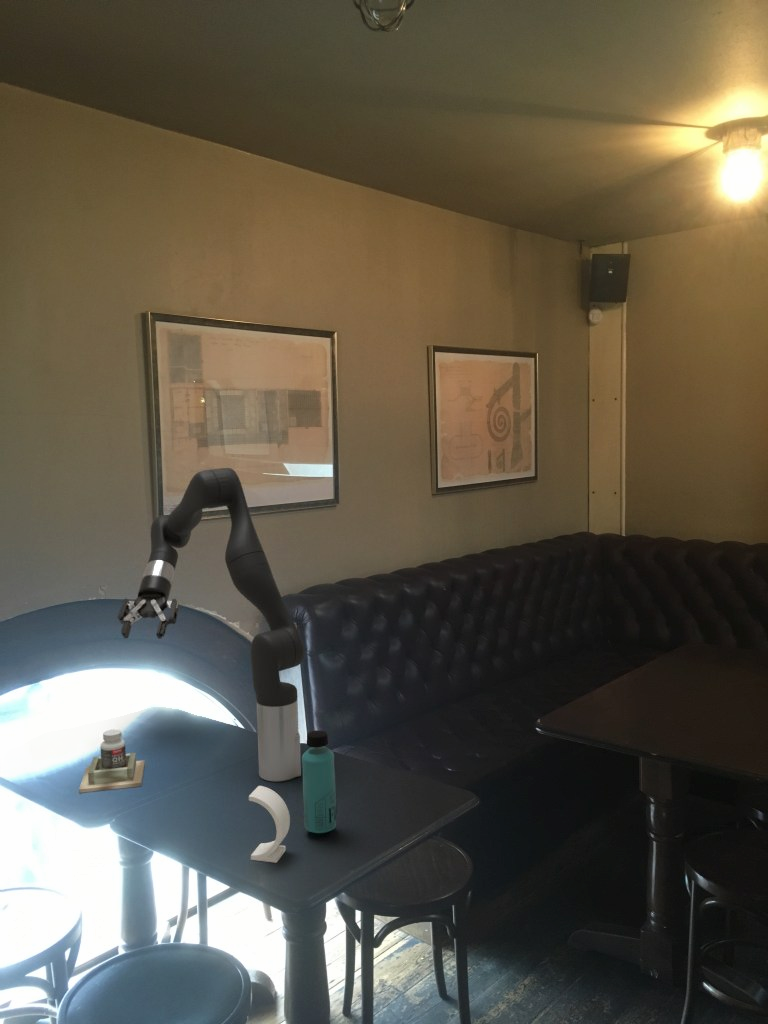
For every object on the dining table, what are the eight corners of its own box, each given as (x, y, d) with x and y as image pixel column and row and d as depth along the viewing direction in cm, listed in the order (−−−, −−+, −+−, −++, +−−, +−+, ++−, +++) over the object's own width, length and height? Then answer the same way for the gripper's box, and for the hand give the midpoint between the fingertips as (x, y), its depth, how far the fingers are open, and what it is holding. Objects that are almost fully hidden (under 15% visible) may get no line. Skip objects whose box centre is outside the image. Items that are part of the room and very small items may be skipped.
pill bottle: (116, 779, 181) (114, 737, 180) (96, 777, 183) (94, 735, 182) (131, 770, 186) (129, 729, 185) (111, 767, 188) (109, 726, 187)
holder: (144, 763, 192) (144, 749, 192) (141, 786, 179) (140, 770, 179) (87, 769, 189) (86, 754, 189) (79, 792, 177) (78, 777, 176)
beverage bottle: (332, 842, 153) (329, 740, 151) (298, 839, 154) (295, 738, 152) (341, 826, 159) (338, 727, 157) (308, 823, 160) (305, 725, 159)
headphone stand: (260, 847, 152) (258, 785, 150) (291, 850, 150) (289, 788, 149) (250, 859, 147) (248, 796, 146) (281, 863, 146) (279, 799, 145)
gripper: (125, 573, 205) (108, 628, 195) (180, 573, 204) (165, 628, 194) (134, 590, 211) (118, 644, 201) (187, 590, 210) (174, 644, 200)
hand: (141, 636), depth 197 cm, fingers open, 8 cm apart
